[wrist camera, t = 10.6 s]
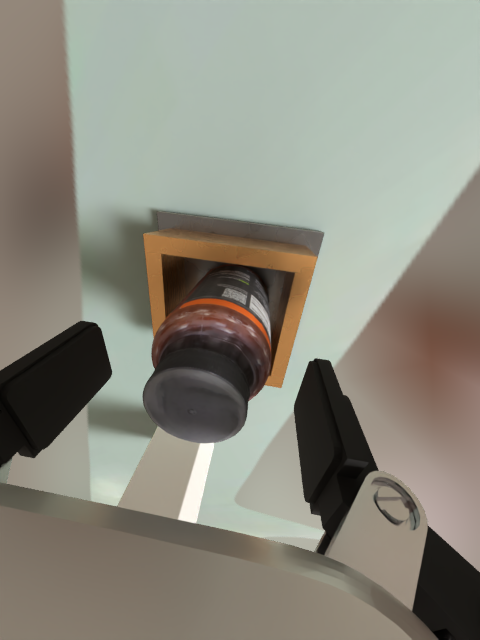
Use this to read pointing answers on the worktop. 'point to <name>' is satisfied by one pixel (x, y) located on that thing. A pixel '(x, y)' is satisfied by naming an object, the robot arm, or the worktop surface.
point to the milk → (169, 478)
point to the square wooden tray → (240, 249)
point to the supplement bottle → (211, 357)
